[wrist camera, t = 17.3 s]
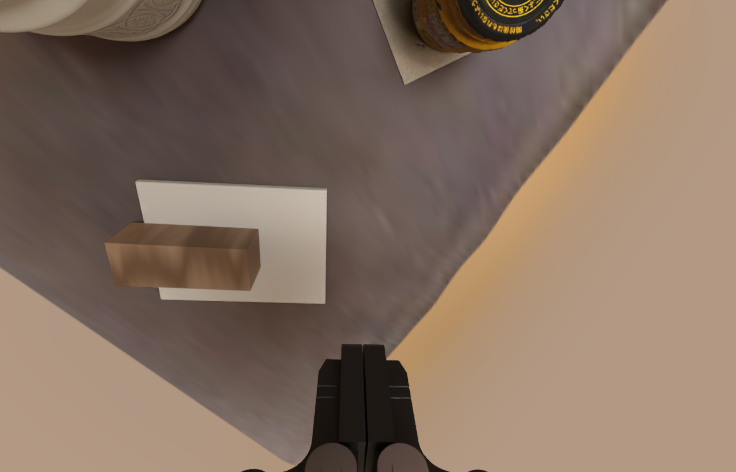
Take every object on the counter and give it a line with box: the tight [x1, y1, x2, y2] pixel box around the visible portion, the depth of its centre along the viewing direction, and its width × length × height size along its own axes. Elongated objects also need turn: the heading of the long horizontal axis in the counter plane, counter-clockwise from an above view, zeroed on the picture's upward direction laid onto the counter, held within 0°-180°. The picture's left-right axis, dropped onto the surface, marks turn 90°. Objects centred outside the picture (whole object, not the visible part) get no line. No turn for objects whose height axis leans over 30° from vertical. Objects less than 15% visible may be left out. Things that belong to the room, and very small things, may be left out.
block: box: [104, 222, 261, 291], centre depth 32 cm, size 4×4×11 cm
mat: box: [135, 179, 327, 304], centre depth 34 cm, size 12×16×1 cm
